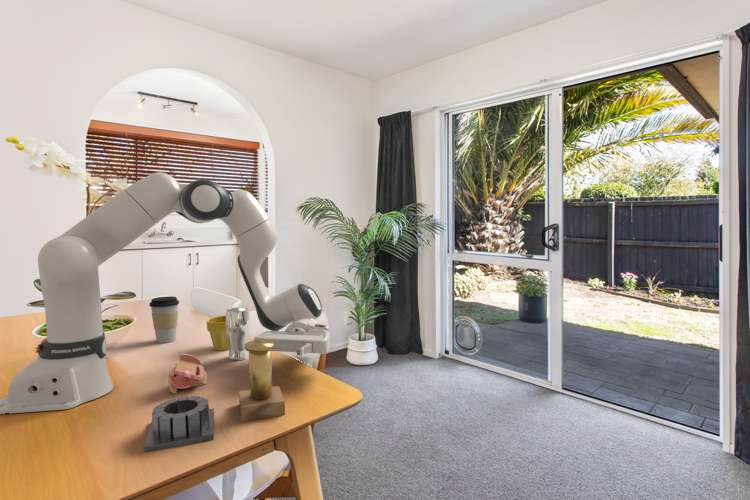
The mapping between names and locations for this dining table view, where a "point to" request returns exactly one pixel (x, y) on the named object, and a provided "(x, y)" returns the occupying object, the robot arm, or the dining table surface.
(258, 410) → the stand
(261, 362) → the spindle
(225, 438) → the dining table surface
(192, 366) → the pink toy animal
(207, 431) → the hub
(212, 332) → the plant pot
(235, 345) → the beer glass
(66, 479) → the dining table surface
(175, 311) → the coffee cup
